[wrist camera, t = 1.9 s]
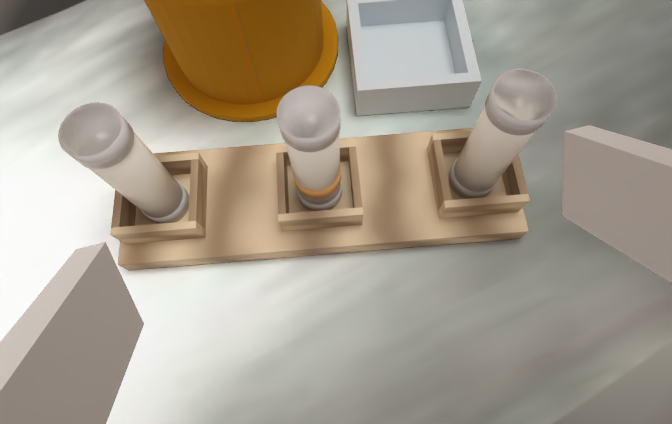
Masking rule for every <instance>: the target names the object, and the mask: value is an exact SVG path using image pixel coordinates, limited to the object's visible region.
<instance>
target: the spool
mask: <svg viewBox="0 0 672 424" xmlns="http://www.w3.org/2000/svg"><path fill="white" fill-rule="evenodd" d="M144 1H145V3H146V5H147V7H148V8H149V10H150V12H151V14H152V16H153V18H154V20H155V21H156V23H157V25H158V27H159V29H160V31H161V33H162V34H163V36H164V38H165V43H164V47H163V58H164V65H165V69H166V72H167V76H168V77H169V79H170V81H171V82H172V84H173V86H174V88H175V89H176V91H177V93H178V94H179V95H180V96H181V97H182V98H183V99H184V100H185V101H186V102H187V103H188V104H190V105H191V106H193V107H194V108H196V109H197V110H199V111H200V112H203V113H205V114H208V115H210V116H213V117H215V118H219V119H224V120H229V121H241V122H253V121H260V120H266V119H271V118H274V117H277V107H278V105H279V103H280V101H281V99H282V98H283V97H284V96H285V95H286V94H287V93H288V92H290V91H291V90H293V89H295V88H298V87H302V86H318V87H321V88H322V87H323V86H324V85H325V83H326V82H327V80H328V79H329V77H330V75H331V73H332V71H333V70H334V67H335V63H336V60H337V56H338V33H337V29H336V24H335V22H334V19H333V17H332V15H331V13H330V11H329V10H328V9H327V7H326V6H325V5H324V4H323V3H322V1H321V0H144Z"/></svg>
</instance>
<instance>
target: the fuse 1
mask: <svg viewBox="0 0 672 424" xmlns="http://www.w3.org/2000/svg"><path fill="white" fill-rule="evenodd" d="M58 137H59V143H60V145H61V147H62V149H63V150H64V151H65V152H67V153H68V154H69V155H70V156H72V157H73V158H74V159H75V160H77V161H78V162H79V163H80V164H82V165H83V166H85V167H87V168H89V169H90V170H92V171H93V172H94V173H95V174H97V175H98V176H99V177H100V178H102V179H103V180H104V181H105V182H107V183H108V184H109V185H110V186H112V187H113V188H114V189H115V190H117V191H118V192H119V193H120V194H122V195H123V196H124V197H125V198H126V199H128V200H129V201H130V202H131V203H133V204H134V205H135V206H136V207H138V208H139V209H140V210H141V212H142V213H143V214H144V215H146V216H147V217H148V218H149V219H151V220H152V221H153V222H155V223H157V224H162V223H175V222H178V221H179V220H181V219H182V218H183V217H184V216H185V215H186V213H187V212H188V210H189V194H188V192H187V190H186V189H185V188H184V187H183V186H182V185H181V183H180V182H179V181H178V180H176V179H175V178H174V177H173V176H172V175H171V174H170V173H169V172H168V170H167V169H166V168H165V167H164V166H163V165H162V163H161V162H160V161H159V160H158V159H157V158H156V157H155V155H154V154H153V153H152V152H151V151H150V150H149V149H148V147H147V146H146V145H145V144H144V143H143V142H142V141H141V139H140V138H139V137H138V136H137V135H136V134H135V133H134V131H133V129H132V127H131V126H130V124H129V123H128V122H127V121H126V120H125V119H124V117H123V116H122V115H121V114H120V113H119V112H118V111H117V109H115V108H114V107H113V106H111V105H109V104H106V103H99V102H96V103H89V104H85V105H82V106H80V107H78V108H76V109H75V110H73V111H72V112H71V113H70V114H69V115H68V116H67V117H66V118H65V119H64V121H63V122H62V124H61V126H60V129H59V135H58Z"/></svg>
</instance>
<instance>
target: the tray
mask: <svg viewBox="0 0 672 424" xmlns="http://www.w3.org/2000/svg"><path fill="white" fill-rule="evenodd" d="M347 34H348V43H349V52H350V61H351V70H352V79H353V88H354V97H355V106H356V115H357V116H364V115H377V114H389V113H402V112H414V111H427V110H440V109H452V108H465V107H470V105H471V103H472V101H473V99H474V96H475V94H476V92H477V90H478V88H479V85H480V83H481V76H480V72H479V68H478V64H477V59H476V55H475V51H474V47H473V43H472V38H471V34H470V30H469V26H468V22H467V17H466V13H465V9H464V5H463V1H462V0H347Z"/></svg>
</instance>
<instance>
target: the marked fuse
mask: <svg viewBox="0 0 672 424" xmlns="http://www.w3.org/2000/svg"><path fill="white" fill-rule="evenodd" d="M277 120H278V124H279V127H280V131H281V135H282V137H283V139H284V140H285V144H286V147H287V151H288V155H289V159H290V163H291V166H292V172H293V177H294V180H295V184H296V190H297V194H298V198H299V200H300V202H301V204H302V205H303V206H304V207H305V208H306V209H308V210H310V211H322V210H331V209H333V208H334V207H335V206H336V205H337V204H338V203H339V201H340V199H341V196H342V180H341V165H340V145H339V132H340V106H339V103H338V101H337V99H336V98H335V96H334V95H333V94H332V93H330V92H329V91H328V90H326V89H324V88H321V87H318V86H302V87H298V88H295V89H293V90H291V91H290V92H288V93H287V94H286V95H285V96H284V97H283V98H282V99H281V101H280V103H279V105H278V107H277Z"/></svg>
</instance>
